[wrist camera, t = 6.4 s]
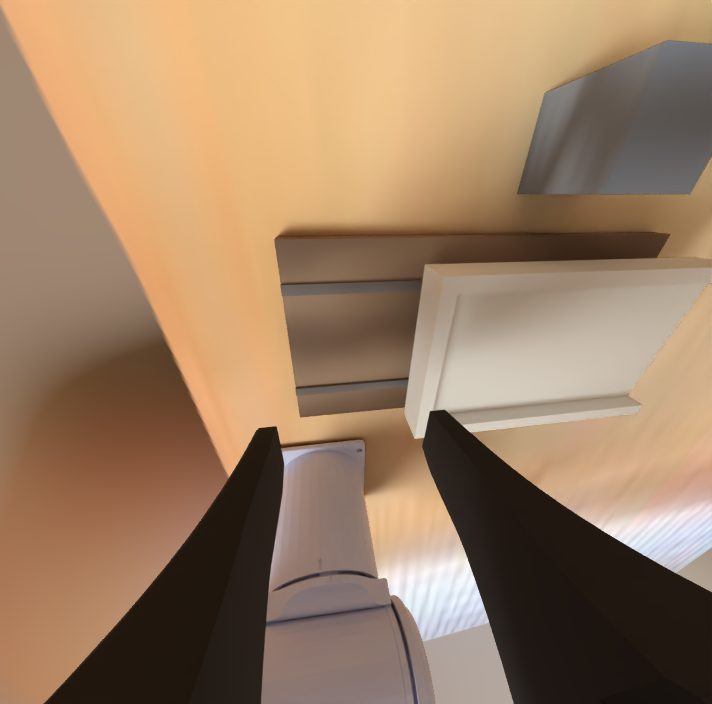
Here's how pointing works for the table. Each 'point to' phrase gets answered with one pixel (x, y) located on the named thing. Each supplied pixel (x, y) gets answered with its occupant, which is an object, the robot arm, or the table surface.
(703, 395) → the table surface
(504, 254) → the track board
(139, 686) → the robot arm
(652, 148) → the block
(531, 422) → the shallow rimmed tray
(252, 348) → the table surface
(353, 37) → the table surface
